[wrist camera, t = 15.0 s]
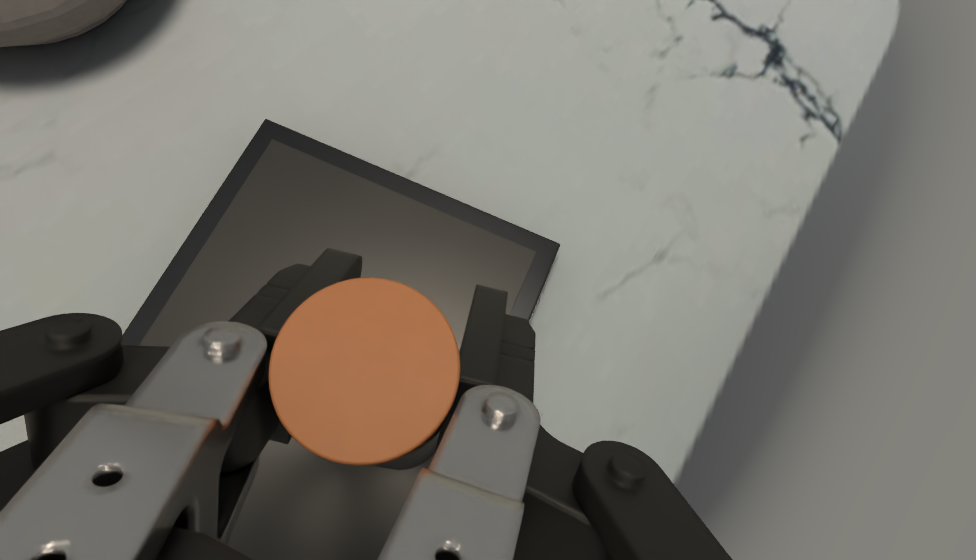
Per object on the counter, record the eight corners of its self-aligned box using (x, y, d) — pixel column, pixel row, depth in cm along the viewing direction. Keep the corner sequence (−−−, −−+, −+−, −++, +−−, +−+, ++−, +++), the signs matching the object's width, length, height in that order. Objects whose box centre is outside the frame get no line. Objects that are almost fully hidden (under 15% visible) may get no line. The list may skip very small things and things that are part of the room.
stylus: (457, 405, 19) (489, 320, 9) (422, 485, 18) (411, 499, 8) (382, 372, 19) (325, 248, 9) (344, 450, 18) (229, 416, 8)
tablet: (555, 253, 22) (561, 242, 21) (364, 716, 17) (359, 731, 16) (272, 132, 23) (264, 116, 22) (3, 546, 18) (-23, 551, 17)
